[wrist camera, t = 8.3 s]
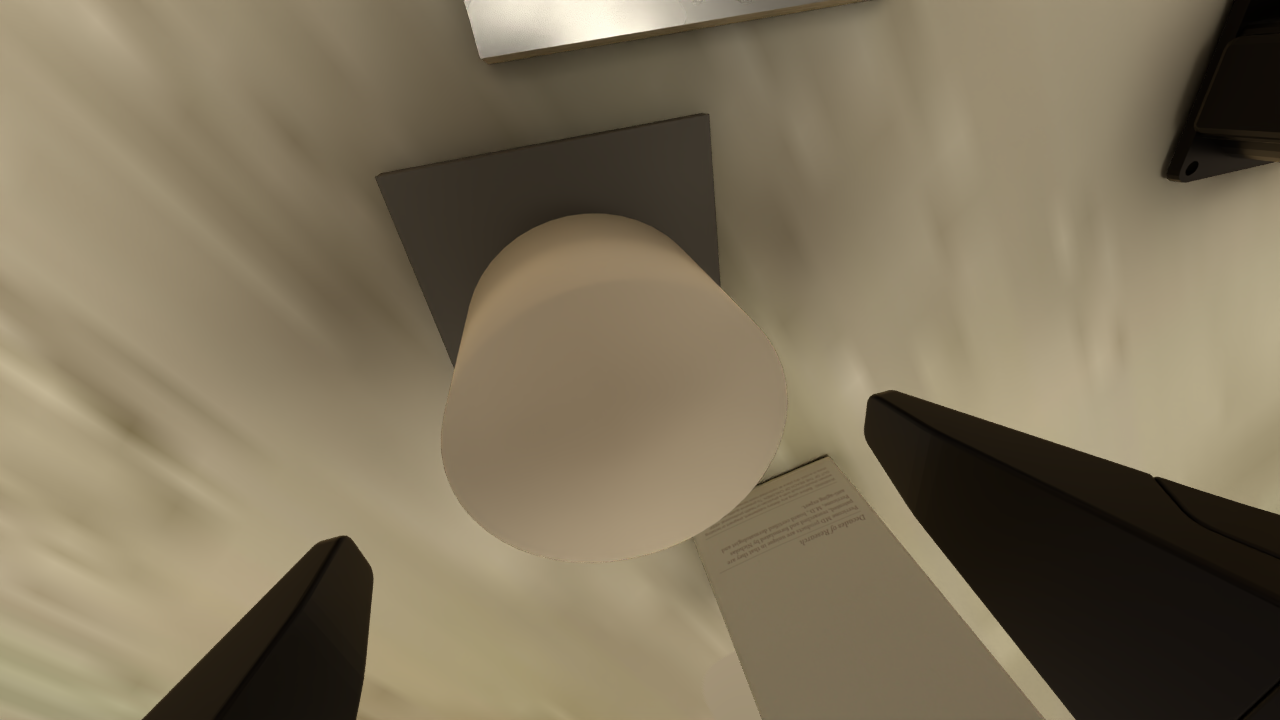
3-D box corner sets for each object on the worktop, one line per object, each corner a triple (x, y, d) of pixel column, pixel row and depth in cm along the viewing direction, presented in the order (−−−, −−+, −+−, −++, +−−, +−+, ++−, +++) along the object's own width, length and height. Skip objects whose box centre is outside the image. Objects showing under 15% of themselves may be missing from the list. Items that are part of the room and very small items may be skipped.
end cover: (668, 171, 14) (790, 240, 8) (689, 359, 17) (786, 515, 11) (443, 216, 13) (374, 332, 7) (510, 403, 16) (504, 596, 10)
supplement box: (681, 514, 22) (834, 927, 11) (830, 450, 22) (1127, 800, 11) (720, 599, 26) (863, 966, 15) (847, 544, 26) (1080, 871, 15)
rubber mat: (702, 113, 14) (709, 114, 13) (721, 373, 18) (726, 381, 18) (380, 173, 13) (375, 177, 12) (486, 432, 17) (484, 442, 17)
